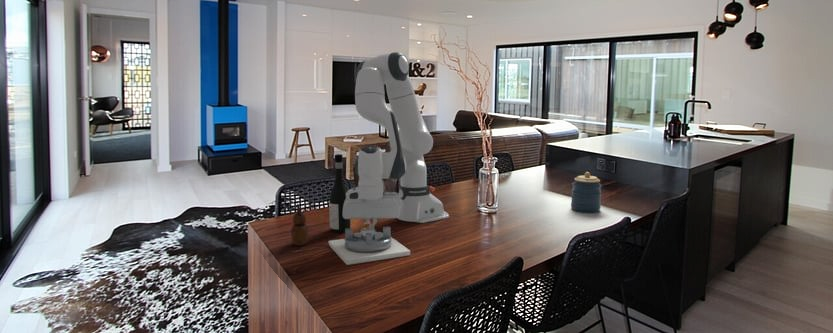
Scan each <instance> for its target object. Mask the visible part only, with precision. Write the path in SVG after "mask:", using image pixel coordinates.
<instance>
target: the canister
mask: <svg viewBox="0 0 833 333" xmlns="http://www.w3.org/2000/svg"><path fill="white" fill-rule="evenodd" d="M600 182H601V179H599V178H598V177H597V176H594V175H591V173H590V172H589V171H586V172H584V175H578V176H576V177H574V182H572V183H571V185H572V190H571V203H570V208H571V210H572V211H575V212H579V213H587V214H590V213H592V214H595V213H598V212H600V211H601V208H602V207H601V205H602V204H601V199H602V191H601V188H602V186H603V185H602V184H601V183H600Z"/></svg>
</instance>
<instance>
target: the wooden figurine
mask: <svg viewBox="0 0 833 333" xmlns="http://www.w3.org/2000/svg"><path fill="white" fill-rule="evenodd" d="M296 205H297V206H296V213H294V214H293V215H292V223H293V225H292V227H291V231H290V232H291V235H290V236H291V240H292V243H293V244H294V245H295V246H298V247H299V246H304V245H306V244H307V243H308V240H309V227H308V225H307V224H306V222H307V216H306V214H305V213H302V211H301V207H300V204H299V202H297V204H296Z"/></svg>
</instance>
